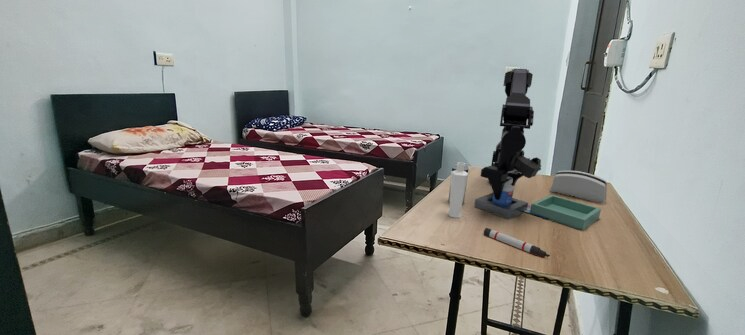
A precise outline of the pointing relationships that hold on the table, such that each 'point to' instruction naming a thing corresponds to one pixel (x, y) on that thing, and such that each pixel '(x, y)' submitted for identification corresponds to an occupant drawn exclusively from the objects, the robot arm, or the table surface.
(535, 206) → the tray
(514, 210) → the gray square holder
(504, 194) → the pill bottle
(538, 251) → the marker
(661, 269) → the table surface
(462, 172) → the perfume bottle
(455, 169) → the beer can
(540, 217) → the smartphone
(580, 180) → the napkin holder
